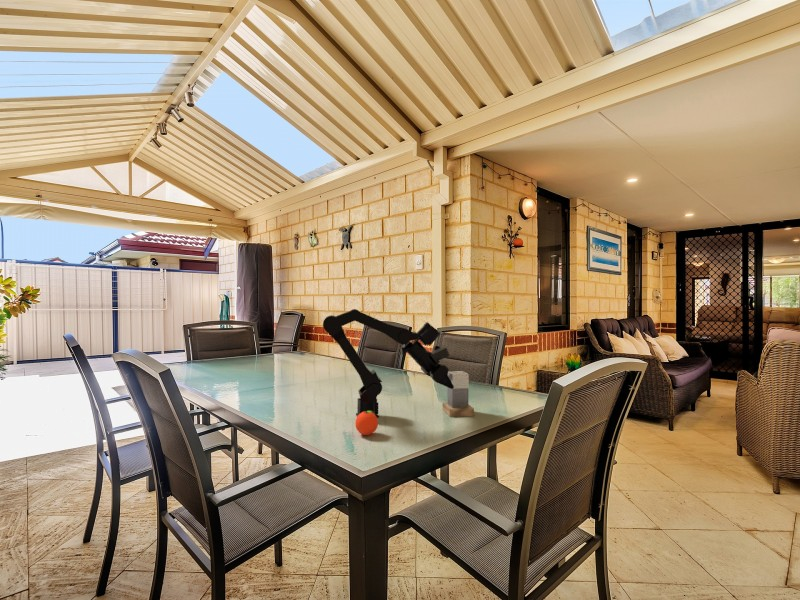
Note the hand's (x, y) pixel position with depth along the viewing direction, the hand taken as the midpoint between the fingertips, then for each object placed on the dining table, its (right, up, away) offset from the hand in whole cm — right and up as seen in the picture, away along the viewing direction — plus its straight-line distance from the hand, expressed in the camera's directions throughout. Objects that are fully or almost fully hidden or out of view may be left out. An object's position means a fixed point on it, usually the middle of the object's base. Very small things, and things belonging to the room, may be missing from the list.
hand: (449, 385), depth 143 cm
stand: (+3, -10, +1) cm, 11 cm away
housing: (+3, -8, +1) cm, 8 cm away
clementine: (-28, -10, -23) cm, 37 cm away
